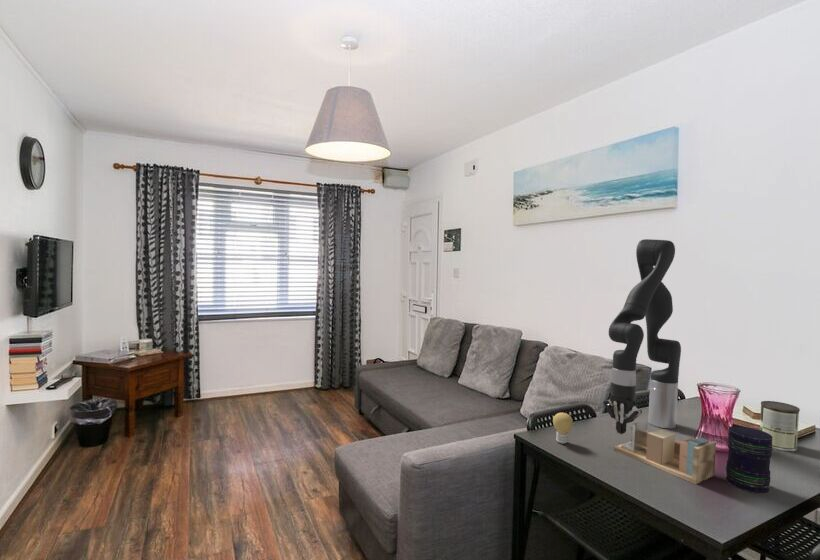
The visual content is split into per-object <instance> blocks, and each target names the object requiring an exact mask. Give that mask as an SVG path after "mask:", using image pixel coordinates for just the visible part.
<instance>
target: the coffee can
mask: <svg viewBox="0 0 820 560" xmlns="http://www.w3.org/2000/svg"><path fill="white" fill-rule="evenodd" d="M800 411H801V409H800V407H798V406H796V405H793V404H789V403H785V402H782V401H781V402H780V401H775V400H763V401H762V400H761V401H760V418H759V419H760V421H759V430H761V431H764V432H766V433H768V434H770V435H771V436H772V437H773V439H772V449H774V450H778V451H783V452H785V451H786V452H795V451H798V434H799V418H800Z"/></svg>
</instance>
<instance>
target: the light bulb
mask: <svg viewBox="0 0 820 560" xmlns="http://www.w3.org/2000/svg"><path fill="white" fill-rule="evenodd" d="M552 423H553V424H552V425H553V427H554V429H555V430H556V433H555V434H556V435H555V437H556V438H555V440H556V441H557V442H558V443H559V444H567V443H568V442H569V440H568V439H569V431H571V429H572V428H573V425H574V421H573V418H572V416H571V415H569V414H568V413H565V412H558V413H556V414H555V415H554V416H553V418H552Z"/></svg>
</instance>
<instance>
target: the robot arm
mask: <svg viewBox="0 0 820 560" xmlns="http://www.w3.org/2000/svg"><path fill="white" fill-rule="evenodd" d="M635 250H636V251H635V254H636V255H635V256H636V262H637V267H638V271H639V277H640V282H638V283H637V284H635V286H633V287H632V289H631V290H630V291H629V293H628V295H627V297H626V299H625V303H624V305H623V306H622V307H623V308H622V309H621V310H620V311H619V313H618V314H617V316H616V317H615V318H614V319H613V320H612V322H611V323H610V325H609V327H608V336H609V339H610V340H611V341H612V342H615V343H619V344H625V345H626V346H625V348H624V349H617V350H615V351H614V352H613V354H612V368H611V369H612V370H611V375H610V392H609V393H610V396H609V399H607V400H603V404H604V405H603V406H605V409H606V411H607V413H608V414H609V416H610V418H611V419H614V421H615V431H616V432H617V434H620V435H624V434H625V433H626V432H627V424H629V423H633V422H635V420H636V419H637V418H638V417H639V416H640V415H642V413H643V412H642V410H641V409H639V408H637V406H636V405H637V404H636V402H635V400H636V399H635V398H636V390H637V389H636V388H637V358H638V355H639V351H640V348H641V346H642V343H643V340H644V338H645V337H644V336H645V335H644V334H645V333H644V330H643V328H642V327H641V326H640V325H639V324H637V323H633V322H636V321H641V320H643V319H644V318H645V323H646V324H645V326H646V349H647V351H646V352H647V357H648V359H649V360H651V361H652V362H655V363H662V364H668V365H667V367H666V368H663V369H662V368H661V369H656V370H653V371H651V372H650V378H649V379H650V383H649V384H650V385H649V398H648V399H649V401H648V402H649V403H648V417H647V418H648V420H647V421H648V422H647V423H648V424H650V425H652V426H654V427H657V428H662V429H675V428H676V426H677V418H678V417H677V414H678V389H679V375H680V362H681V352H682V347H681V342H679V340H675V339H666V338H661V337H660V338H659V336H658V335H659V332H660V330H661V329H662V327H663V326H664V325H665V324H666V323H667V322H668V320H669V319H670V318H671V317H672V315H673V311H674V308H673V307H674V306H673V296H672V294H671V292H670V290H669V289H668V287H667V286H666V285H665V284H664V282H662V281H663V279H664V277H665V276H666V274H667V272H668V270H669V269H670V267H671V265H672V263H673V261H674V258H675V255H676V245H675V244H674V242H673V241H671V240H666V239H650V238H649V239H648V238H647V239H646V238H645V239H641V240H639V242H638V243H637V245H636V249H635ZM630 412H631V414H630Z"/></svg>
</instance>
